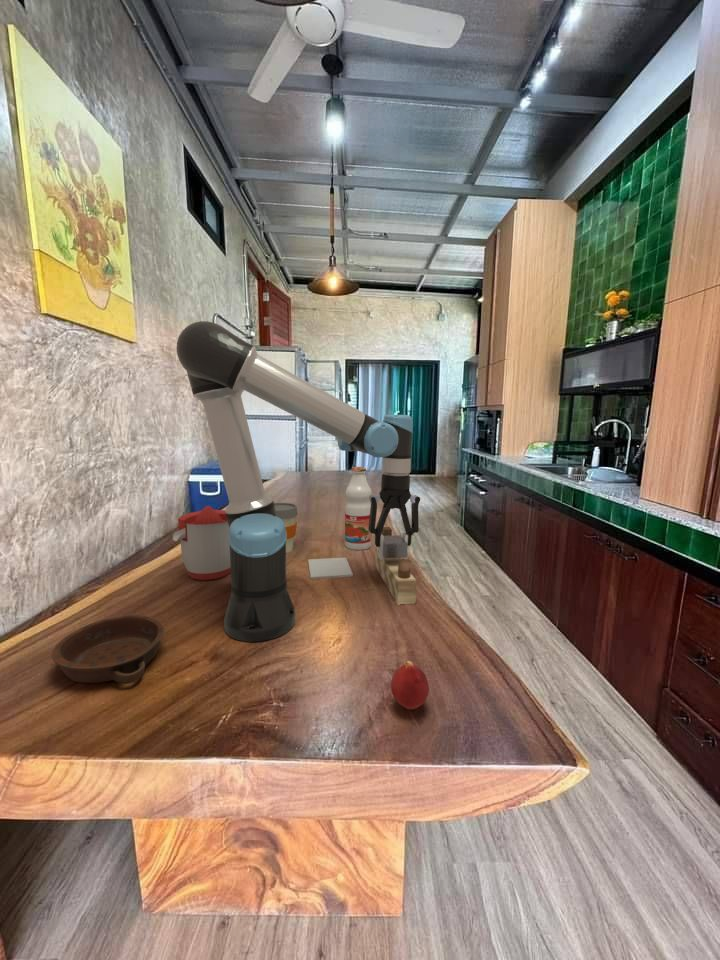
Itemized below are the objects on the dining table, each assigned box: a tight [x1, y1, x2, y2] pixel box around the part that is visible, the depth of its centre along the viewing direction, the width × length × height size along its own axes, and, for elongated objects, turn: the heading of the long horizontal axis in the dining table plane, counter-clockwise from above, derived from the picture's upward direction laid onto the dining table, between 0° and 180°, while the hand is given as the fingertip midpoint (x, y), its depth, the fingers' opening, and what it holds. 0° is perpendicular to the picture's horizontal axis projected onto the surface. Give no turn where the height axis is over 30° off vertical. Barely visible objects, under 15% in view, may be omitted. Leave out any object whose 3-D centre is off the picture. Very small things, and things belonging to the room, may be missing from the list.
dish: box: [51, 614, 166, 685], centre depth 74 cm, size 17×22×5 cm
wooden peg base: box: [374, 526, 418, 606], centre depth 110 cm, size 26×5×13 cm, turn 10°
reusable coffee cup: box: [274, 502, 298, 554], centre depth 136 cm, size 13×13×15 cm
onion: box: [390, 660, 430, 711], centre depth 63 cm, size 6×6×8 cm
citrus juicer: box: [172, 505, 231, 581], centre depth 114 cm, size 16×17×20 cm
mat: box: [307, 557, 354, 580], centre depth 121 cm, size 14×12×1 cm
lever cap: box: [383, 534, 408, 559], centre depth 109 cm, size 7×6×4 cm
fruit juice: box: [344, 466, 373, 551], centre depth 139 cm, size 9×9×28 cm
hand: (392, 557), depth 110 cm, fingers closed on lever cap, 6 cm apart
